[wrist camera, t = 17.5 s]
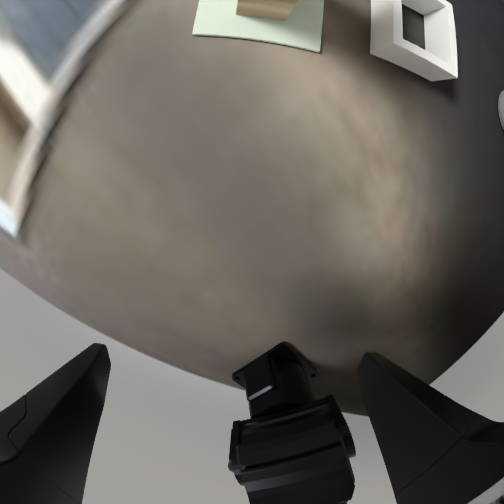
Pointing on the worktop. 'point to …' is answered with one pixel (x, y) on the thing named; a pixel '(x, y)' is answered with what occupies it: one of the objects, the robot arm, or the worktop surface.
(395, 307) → the worktop surface
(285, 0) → the tall tan tower
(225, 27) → the mat
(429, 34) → the holder box
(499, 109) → the travel mug
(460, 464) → the robot arm
